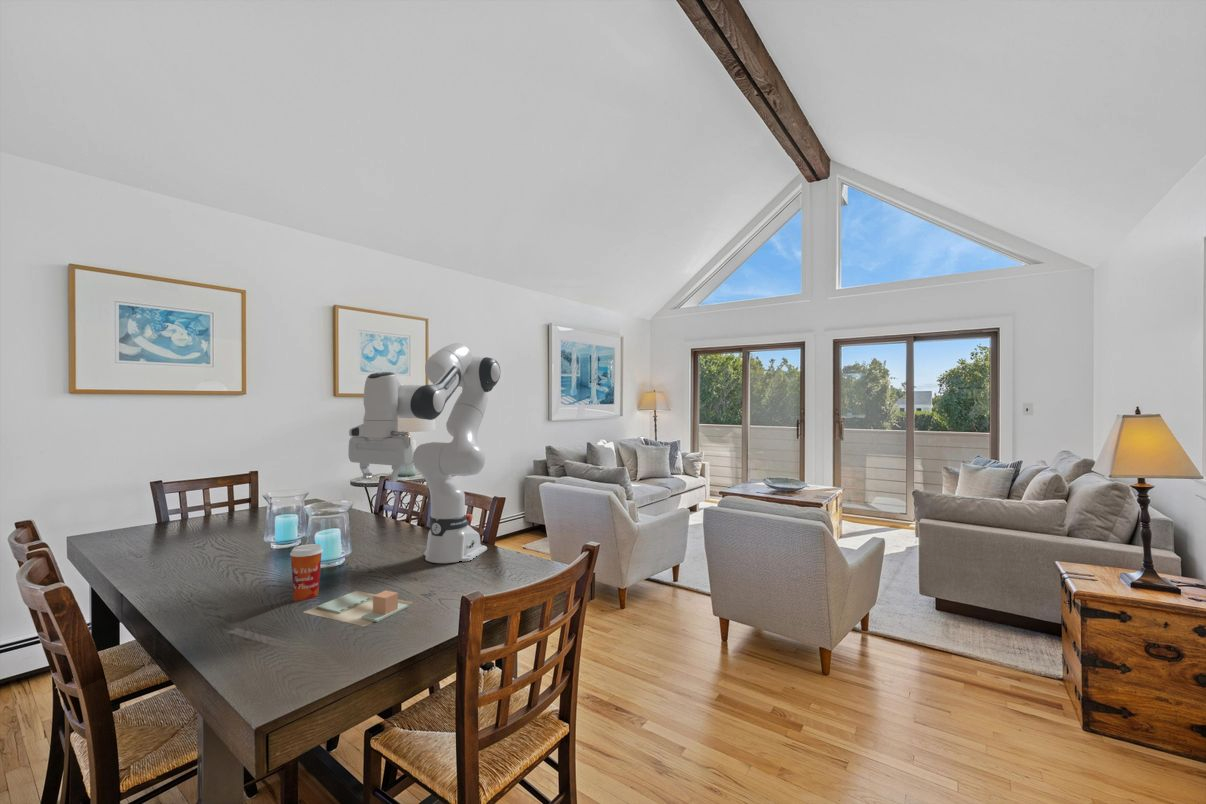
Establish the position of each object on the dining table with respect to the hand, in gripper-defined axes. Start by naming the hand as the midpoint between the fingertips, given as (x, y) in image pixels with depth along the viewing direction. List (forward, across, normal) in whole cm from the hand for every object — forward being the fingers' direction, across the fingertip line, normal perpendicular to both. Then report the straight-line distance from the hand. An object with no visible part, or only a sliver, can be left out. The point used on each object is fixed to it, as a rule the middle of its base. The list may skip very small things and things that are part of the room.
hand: (380, 480), depth 146 cm
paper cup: (+31, +13, +12) cm, 36 cm away
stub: (+30, -14, +12) cm, 35 cm away
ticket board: (+31, -6, +12) cm, 34 cm away
